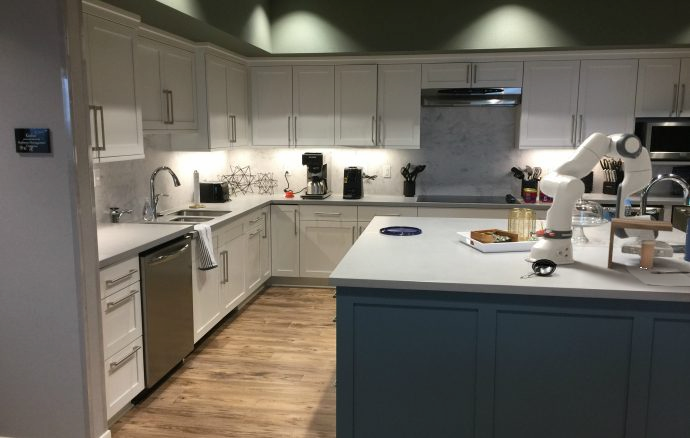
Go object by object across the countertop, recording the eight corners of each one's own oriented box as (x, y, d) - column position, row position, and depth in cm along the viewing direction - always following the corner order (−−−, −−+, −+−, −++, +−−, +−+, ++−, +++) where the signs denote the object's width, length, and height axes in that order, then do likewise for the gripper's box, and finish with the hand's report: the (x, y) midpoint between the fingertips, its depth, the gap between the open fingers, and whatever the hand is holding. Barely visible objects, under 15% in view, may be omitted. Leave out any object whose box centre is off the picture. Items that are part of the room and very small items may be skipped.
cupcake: (541, 244, 295) (542, 222, 294) (531, 241, 304) (533, 219, 302) (555, 244, 298) (556, 221, 296) (545, 241, 306) (547, 218, 304)
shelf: (608, 261, 260) (611, 217, 257) (665, 266, 250) (670, 221, 247) (607, 268, 246) (611, 222, 243) (668, 274, 236) (672, 226, 233)
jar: (647, 270, 244) (650, 242, 242) (636, 267, 248) (639, 240, 246) (655, 268, 246) (657, 241, 244) (644, 266, 250) (646, 239, 249)
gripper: (621, 238, 261) (621, 244, 249) (672, 242, 253) (674, 248, 240) (620, 252, 262) (619, 258, 250) (670, 256, 254) (673, 263, 241)
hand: (647, 253), depth 245 cm, fingers open, 8 cm apart
